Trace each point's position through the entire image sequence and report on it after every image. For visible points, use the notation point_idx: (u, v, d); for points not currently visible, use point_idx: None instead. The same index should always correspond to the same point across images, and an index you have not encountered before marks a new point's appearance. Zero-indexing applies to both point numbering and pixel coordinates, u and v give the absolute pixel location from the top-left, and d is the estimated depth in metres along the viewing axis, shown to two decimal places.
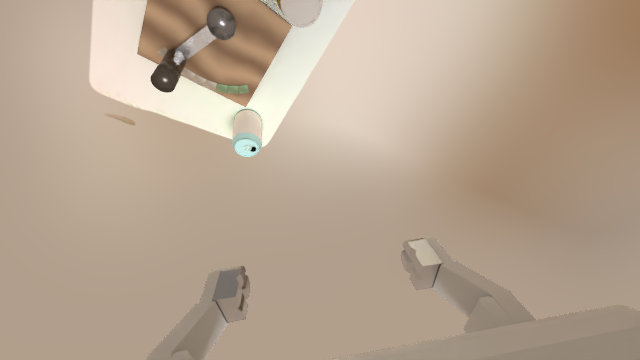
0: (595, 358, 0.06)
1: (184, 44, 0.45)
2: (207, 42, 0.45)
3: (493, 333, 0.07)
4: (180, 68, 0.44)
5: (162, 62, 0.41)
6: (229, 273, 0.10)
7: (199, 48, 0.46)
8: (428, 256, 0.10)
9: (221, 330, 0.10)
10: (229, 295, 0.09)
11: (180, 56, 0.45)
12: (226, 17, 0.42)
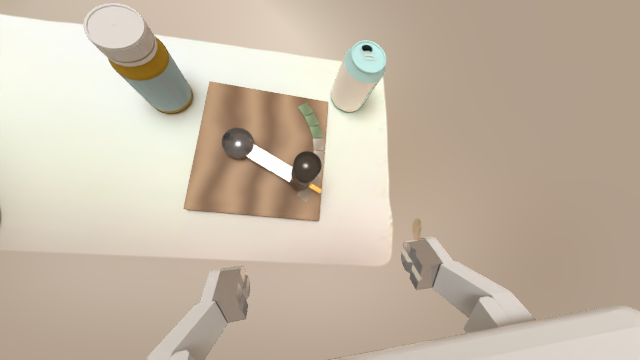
0: (595, 358, 0.06)
1: (279, 174, 0.38)
2: (264, 152, 0.39)
3: (493, 333, 0.07)
4: None
5: (294, 179, 0.32)
6: (229, 273, 0.10)
7: (275, 159, 0.39)
8: (428, 256, 0.10)
9: (221, 330, 0.10)
10: (229, 295, 0.09)
11: None
12: (226, 138, 0.37)
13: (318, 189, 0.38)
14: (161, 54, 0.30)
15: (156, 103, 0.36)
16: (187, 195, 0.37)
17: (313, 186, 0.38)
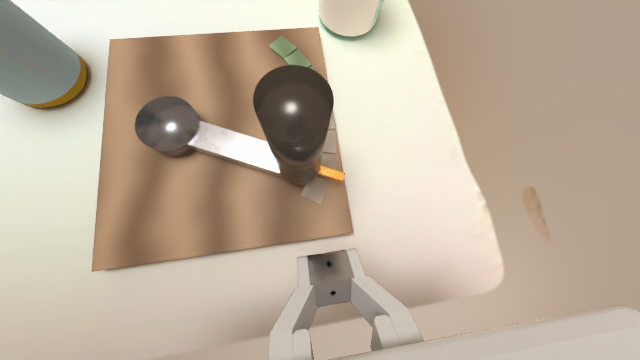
0: (595, 358, 0.06)
1: (256, 163, 0.20)
2: (222, 130, 0.20)
3: (493, 333, 0.07)
4: None
5: (278, 158, 0.14)
6: (317, 259, 0.11)
7: (244, 137, 0.20)
8: (342, 270, 0.10)
9: (313, 314, 0.10)
10: (325, 279, 0.10)
11: None
12: (143, 120, 0.19)
13: (338, 174, 0.19)
14: None
15: (3, 88, 0.19)
16: (96, 244, 0.19)
17: (327, 170, 0.19)
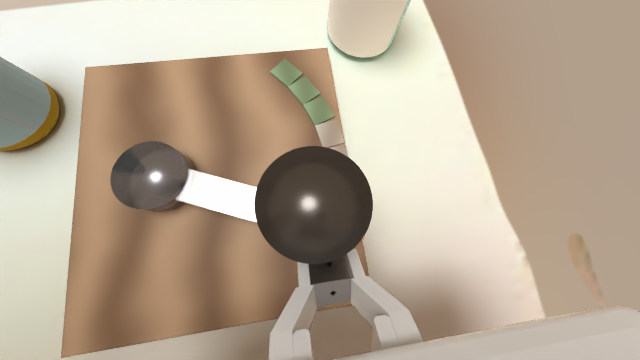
0: (595, 358, 0.06)
1: None
2: (216, 180, 0.17)
3: (493, 333, 0.07)
4: None
5: None
6: None
7: (243, 187, 0.17)
8: (342, 270, 0.10)
9: (314, 314, 0.10)
10: (325, 279, 0.10)
11: None
12: (121, 173, 0.16)
13: None
14: None
15: None
16: (66, 322, 0.16)
17: None
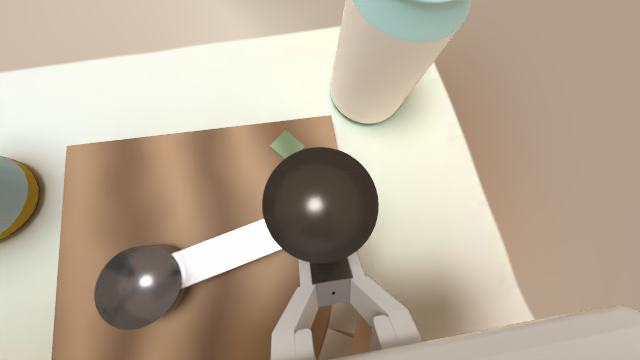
0: (595, 358, 0.06)
1: (269, 250, 0.16)
2: (206, 245, 0.16)
3: (493, 333, 0.07)
4: None
5: None
6: None
7: (236, 233, 0.16)
8: (341, 270, 0.10)
9: (315, 314, 0.10)
10: (327, 279, 0.10)
11: None
12: (108, 305, 0.14)
13: None
14: None
15: None
16: None
17: None
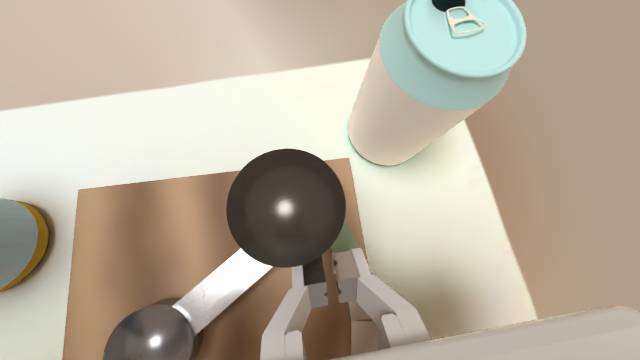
0: (595, 358, 0.06)
1: (268, 265, 0.16)
2: (204, 284, 0.15)
3: (493, 333, 0.07)
4: None
5: None
6: None
7: (230, 262, 0.16)
8: (348, 269, 0.10)
9: (308, 315, 0.10)
10: (319, 280, 0.10)
11: None
12: None
13: None
14: None
15: None
16: None
17: None
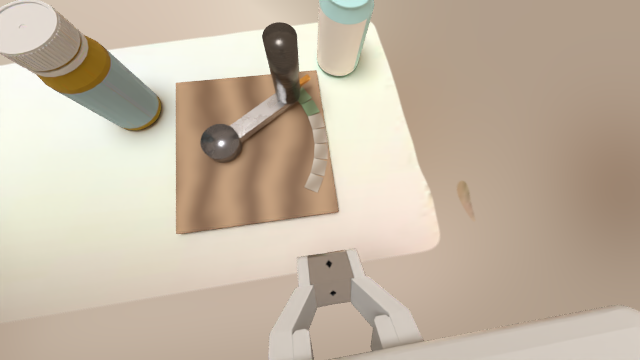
0: (595, 358, 0.06)
1: (273, 111, 0.33)
2: (243, 118, 0.32)
3: (493, 333, 0.07)
4: None
5: (288, 76, 0.28)
6: (317, 259, 0.11)
7: (255, 109, 0.33)
8: (342, 270, 0.10)
9: (313, 314, 0.10)
10: (325, 279, 0.10)
11: (277, 94, 0.32)
12: (210, 150, 0.31)
13: (305, 77, 0.34)
14: (96, 53, 0.25)
15: (119, 120, 0.31)
16: (177, 217, 0.31)
17: (300, 80, 0.34)
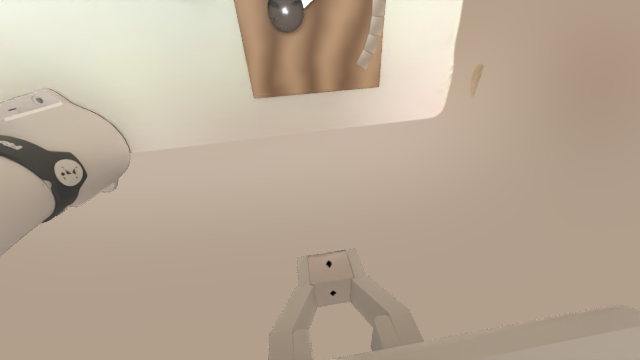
0: (595, 358, 0.06)
1: None
2: None
3: (493, 333, 0.07)
4: None
5: None
6: (317, 259, 0.11)
7: None
8: (342, 270, 0.10)
9: (313, 314, 0.10)
10: (325, 279, 0.10)
11: None
12: (278, 23, 0.32)
13: None
14: None
15: None
16: (252, 84, 0.38)
17: None
